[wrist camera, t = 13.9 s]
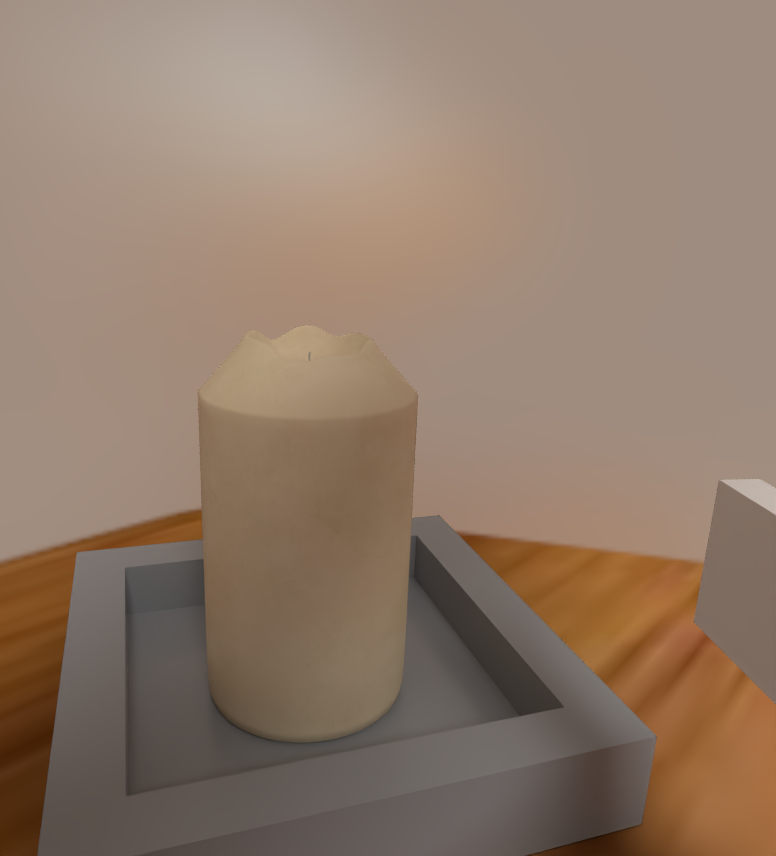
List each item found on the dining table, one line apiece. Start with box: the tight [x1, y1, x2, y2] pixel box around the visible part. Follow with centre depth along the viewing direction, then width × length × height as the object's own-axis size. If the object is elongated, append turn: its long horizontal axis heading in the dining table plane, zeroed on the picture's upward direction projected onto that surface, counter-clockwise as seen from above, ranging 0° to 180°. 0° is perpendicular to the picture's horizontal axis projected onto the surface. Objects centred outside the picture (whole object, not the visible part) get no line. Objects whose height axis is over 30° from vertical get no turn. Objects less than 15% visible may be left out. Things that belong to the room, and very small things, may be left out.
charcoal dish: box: [37, 515, 657, 856], centre depth 21 cm, size 13×13×2 cm
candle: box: [198, 325, 418, 743], centre depth 20 cm, size 6×6×10 cm
